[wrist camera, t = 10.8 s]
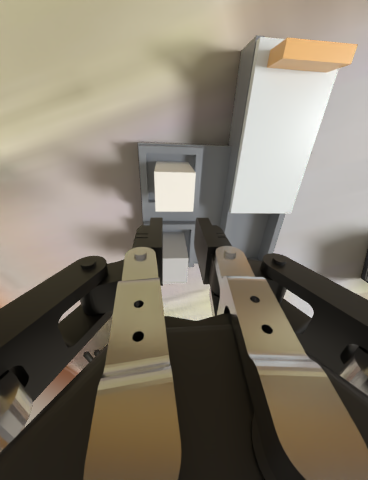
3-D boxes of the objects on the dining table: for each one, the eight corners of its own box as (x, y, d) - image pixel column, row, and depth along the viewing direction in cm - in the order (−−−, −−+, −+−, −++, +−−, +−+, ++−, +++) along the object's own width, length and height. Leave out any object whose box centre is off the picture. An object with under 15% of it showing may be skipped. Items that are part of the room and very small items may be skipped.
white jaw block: (156, 161, 25) (154, 171, 18) (188, 162, 25) (195, 172, 19) (157, 192, 27) (155, 211, 20) (186, 192, 27) (193, 211, 21)
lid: (256, 40, 18) (276, 21, 15) (339, 48, 18) (375, 31, 15) (229, 210, 26) (237, 222, 23) (287, 211, 27) (304, 222, 23)
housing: (132, 41, 20) (114, -10, 13) (313, 57, 22) (388, 21, 15) (146, 259, 34) (141, 295, 26) (258, 257, 35) (282, 290, 28)
